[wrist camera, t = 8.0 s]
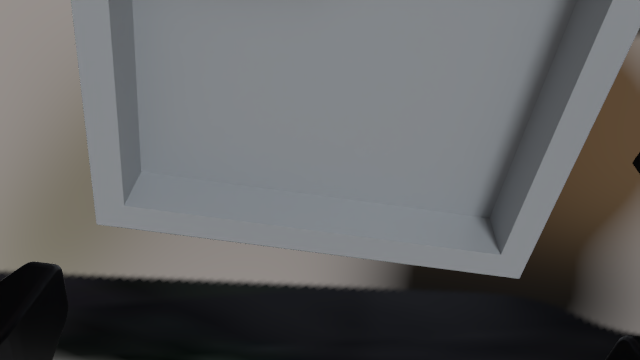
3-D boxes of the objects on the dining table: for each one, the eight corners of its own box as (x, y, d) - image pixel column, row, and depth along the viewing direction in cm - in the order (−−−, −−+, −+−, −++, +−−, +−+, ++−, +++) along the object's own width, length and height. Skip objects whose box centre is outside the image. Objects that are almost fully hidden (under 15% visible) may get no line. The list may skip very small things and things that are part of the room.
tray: (700, -230, 14) (761, -227, 12) (503, 230, 23) (519, 278, 21) (79, -339, 14) (30, -356, 11) (120, 180, 22) (96, 224, 20)
